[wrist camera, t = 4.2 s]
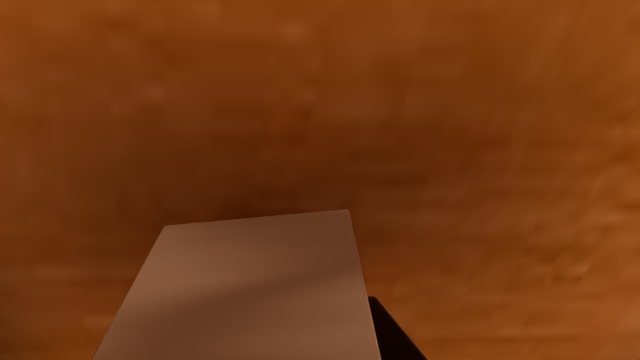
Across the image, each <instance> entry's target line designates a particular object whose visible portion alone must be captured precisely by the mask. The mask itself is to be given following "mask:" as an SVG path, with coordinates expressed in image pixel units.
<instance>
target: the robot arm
mask: <svg viewBox="0 0 640 360" xmlns="http://www.w3.org/2000/svg"><path fill="white" fill-rule="evenodd" d="M368 301H369V306H370V311H371V315H372V320H373V324H374V329H375V334H376V338H377V343H378V347H379V352H380V357H381V360H427V359H426V358H425V356H424V355H423V354H422V353H421V352H420V350H419V349H418V348H417V347H416V345H415V344H414V343H413V342H412V341H411V339H410V338H409V337H408V336H407V335H406V333H405V332H404V331H403V330H402V329H401V327H400V326H399V325H398V324H397V322H396V321H395V320H394V319H393V318H392V316H391V315H390V314H389V313H388V312H387V310H386V309H385V308H384V307H383V305H382V304H381V303H380V302H379V301H378V299H377V298H375V297H373V296H371V297H368Z"/></svg>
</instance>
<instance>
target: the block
mask: <svg viewBox="0 0 640 360" xmlns="http://www.w3.org/2000/svg"><path fill="white" fill-rule="evenodd" d="M92 360H381V357H380V352H379V347H378V343H377V338H376V334H375V329H374V324H373V320H372V315H371V311H370V306H369V301H368V297H367V292H366V288H365V283H364V278H363V274H362V269H361V265H360V260H359V255H358V251H357V246H356V241H355V237H354V232H353V228H352V223H351V218H350V214H349V211H348V209H340V210H329V211H318V212H307V213H297V214H286V215H275V216H264V217H254V218H243V219H232V220H221V221H211V222H200V223H189V224H178V225H168V226H164V227H163V229H162V231H161V233H160V235H159V236H158V238H157V240H156V242H155V244H154V246H153V247H152V249H151V251H150V253H149V255H148V257H147V258H146V260H145V262H144V264H143V266H142V268H141V269H140V271H139V273H138V275H137V277H136V279H135V281H134V282H133V284H132V286H131V288H130V290H129V292H128V293H127V295H126V297H125V299H124V301H123V303H122V304H121V306H120V308H119V310H118V312H117V314H116V315H115V317H114V319H113V321H112V323H111V325H110V326H109V328H108V330H107V332H106V334H105V336H104V338H103V339H102V341H101V343H100V345H99V347H98V349H97V350H96V352H95V354H94V356H93V358H92Z"/></svg>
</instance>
